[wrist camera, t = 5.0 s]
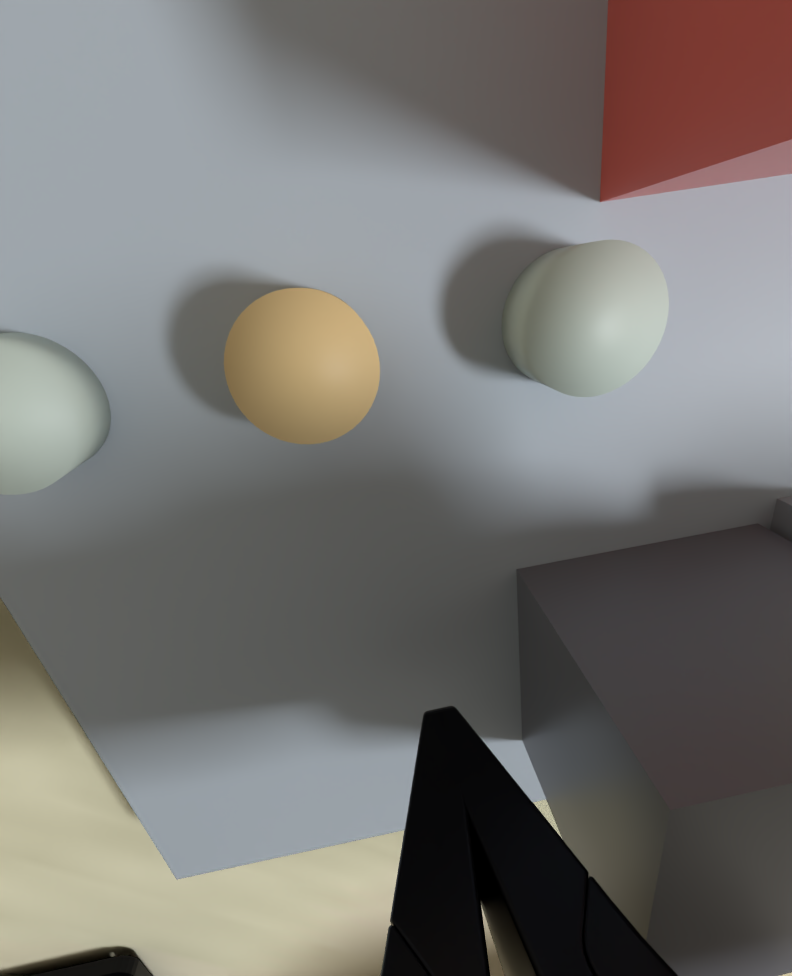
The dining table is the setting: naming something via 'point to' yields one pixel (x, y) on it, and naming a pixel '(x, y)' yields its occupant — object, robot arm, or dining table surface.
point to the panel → (345, 383)
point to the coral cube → (695, 94)
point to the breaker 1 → (671, 737)
